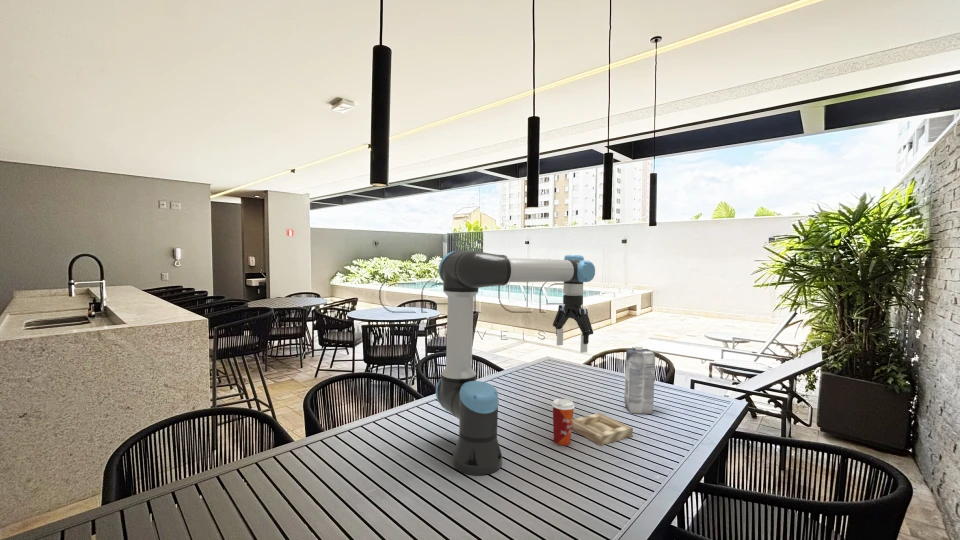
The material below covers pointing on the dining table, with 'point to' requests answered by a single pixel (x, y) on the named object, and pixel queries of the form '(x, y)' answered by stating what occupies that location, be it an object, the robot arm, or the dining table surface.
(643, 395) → the juice carton
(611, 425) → the tray
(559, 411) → the paper cup
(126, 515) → the dining table surface
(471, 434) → the robot arm
